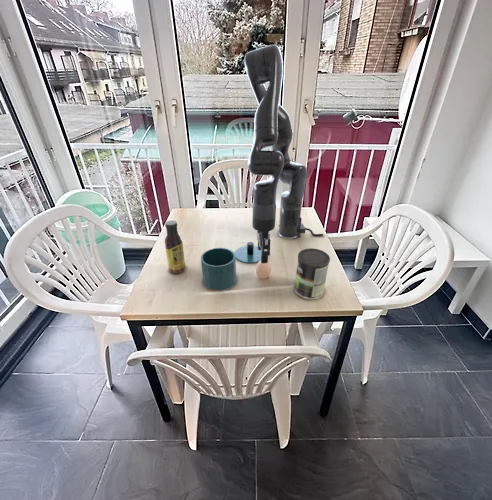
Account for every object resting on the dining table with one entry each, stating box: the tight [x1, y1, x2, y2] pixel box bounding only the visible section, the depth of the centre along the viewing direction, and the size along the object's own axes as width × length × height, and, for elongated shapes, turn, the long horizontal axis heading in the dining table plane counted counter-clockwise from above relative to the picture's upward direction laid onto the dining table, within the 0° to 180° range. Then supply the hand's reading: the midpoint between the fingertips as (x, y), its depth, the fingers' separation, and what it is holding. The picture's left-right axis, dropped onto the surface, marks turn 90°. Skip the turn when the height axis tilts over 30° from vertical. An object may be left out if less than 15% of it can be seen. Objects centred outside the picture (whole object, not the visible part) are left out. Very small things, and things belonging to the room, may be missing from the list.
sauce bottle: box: [164, 220, 186, 274], centre depth 105 cm, size 7×6×20 cm
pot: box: [200, 247, 237, 291], centre depth 101 cm, size 12×12×10 cm
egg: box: [255, 260, 272, 280], centre depth 104 cm, size 6×6×8 cm
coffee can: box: [294, 247, 331, 300], centre depth 96 cm, size 10×10×14 cm
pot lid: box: [234, 241, 261, 264], centre depth 117 cm, size 13×13×6 cm
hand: (262, 255), depth 101 cm, fingers open, 8 cm apart
